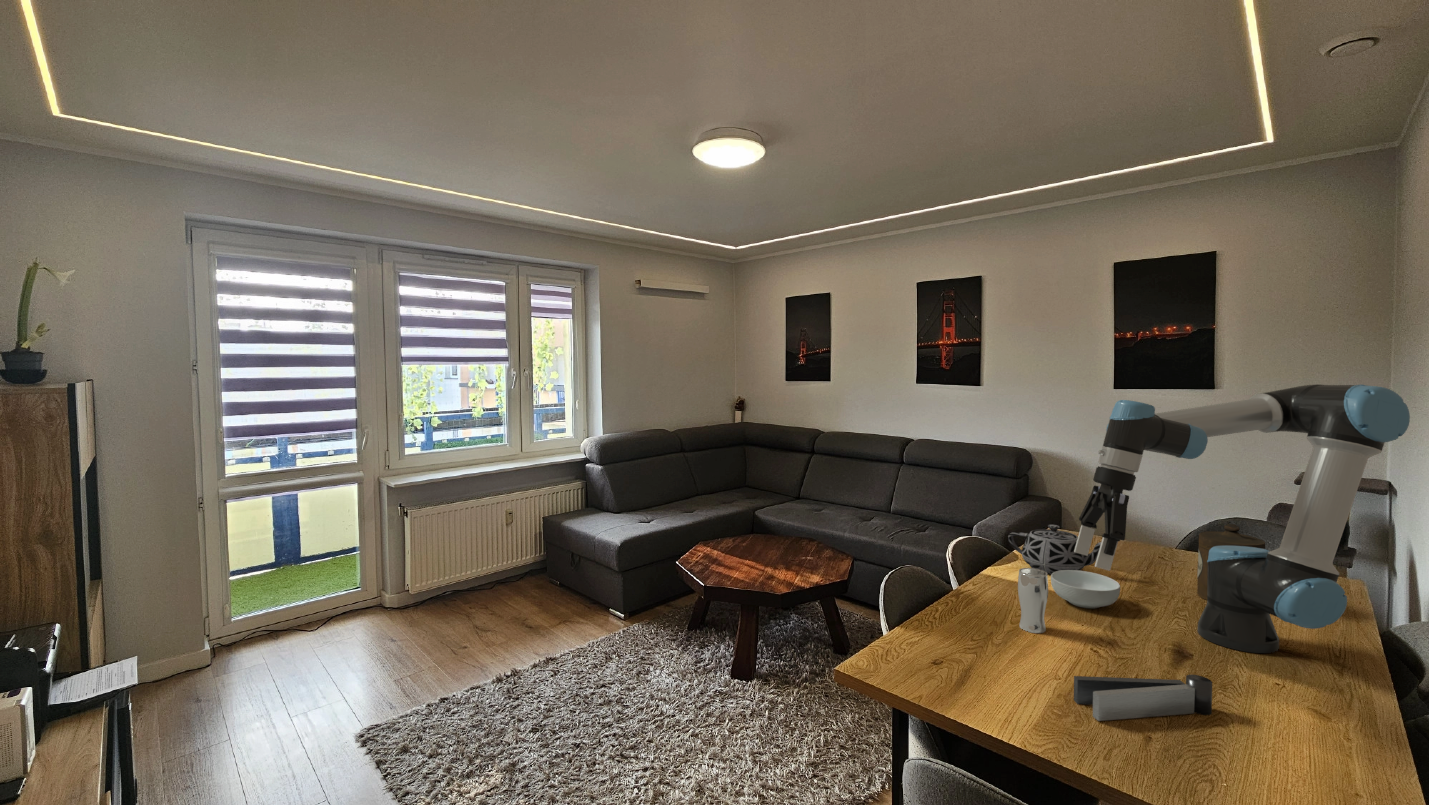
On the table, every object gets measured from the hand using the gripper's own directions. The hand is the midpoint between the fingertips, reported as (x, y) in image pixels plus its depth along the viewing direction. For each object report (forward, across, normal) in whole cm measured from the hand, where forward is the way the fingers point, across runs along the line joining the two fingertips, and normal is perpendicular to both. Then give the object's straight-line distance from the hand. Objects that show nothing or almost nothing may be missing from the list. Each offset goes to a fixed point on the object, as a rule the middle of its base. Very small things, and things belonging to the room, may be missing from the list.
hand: (1090, 561), depth 134 cm
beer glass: (+24, -21, -1) cm, 32 cm away
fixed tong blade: (+23, +14, +11) cm, 29 cm away
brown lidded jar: (+8, -55, +56) cm, 79 cm away
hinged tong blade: (+24, +17, +10) cm, 31 cm away
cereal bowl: (+18, -43, +17) cm, 50 cm away
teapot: (+16, -73, +17) cm, 77 cm away
